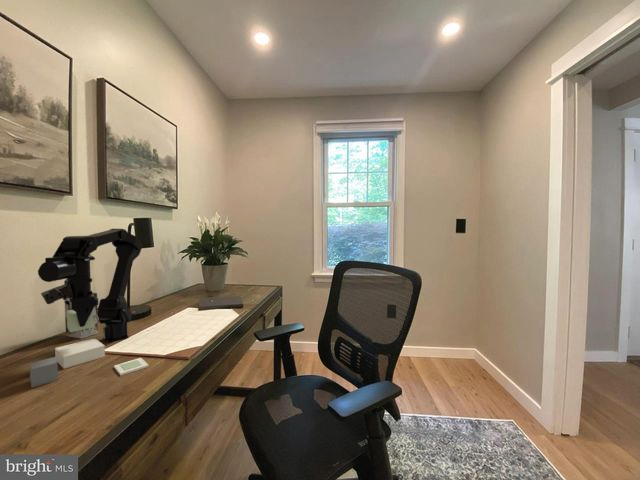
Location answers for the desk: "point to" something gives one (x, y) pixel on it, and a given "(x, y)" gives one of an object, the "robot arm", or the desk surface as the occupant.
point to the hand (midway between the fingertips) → (80, 324)
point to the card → (130, 366)
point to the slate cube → (43, 372)
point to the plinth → (79, 352)
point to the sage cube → (73, 321)
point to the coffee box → (83, 332)
